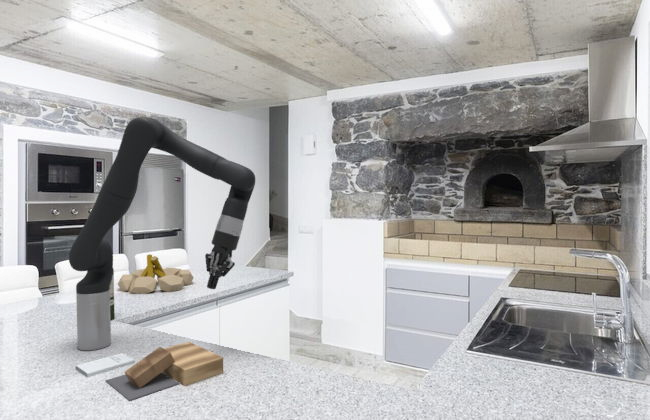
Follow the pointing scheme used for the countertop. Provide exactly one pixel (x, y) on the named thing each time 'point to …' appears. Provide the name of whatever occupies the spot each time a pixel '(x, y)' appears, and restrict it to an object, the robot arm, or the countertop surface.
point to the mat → (134, 392)
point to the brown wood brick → (149, 367)
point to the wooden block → (193, 363)
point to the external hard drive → (104, 364)
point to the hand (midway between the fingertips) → (210, 288)
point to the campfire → (146, 283)
